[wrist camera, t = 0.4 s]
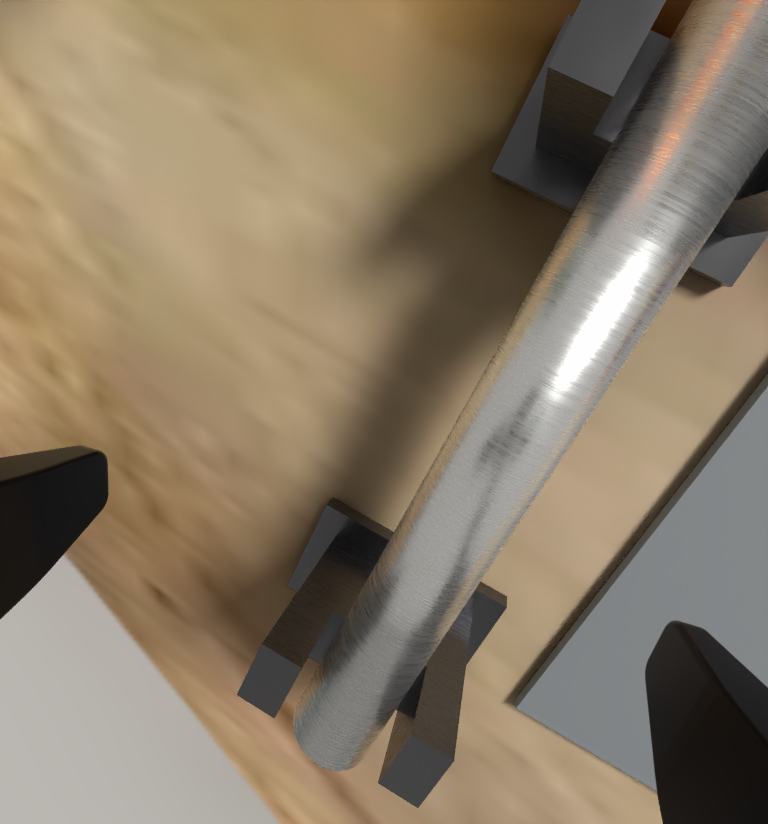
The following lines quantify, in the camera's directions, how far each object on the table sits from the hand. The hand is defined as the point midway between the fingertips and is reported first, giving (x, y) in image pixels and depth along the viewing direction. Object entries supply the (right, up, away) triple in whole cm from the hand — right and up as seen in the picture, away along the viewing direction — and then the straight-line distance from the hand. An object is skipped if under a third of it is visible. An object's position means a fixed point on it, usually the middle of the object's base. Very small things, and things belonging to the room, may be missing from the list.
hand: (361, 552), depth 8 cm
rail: (+3, +1, +7) cm, 8 cm away
